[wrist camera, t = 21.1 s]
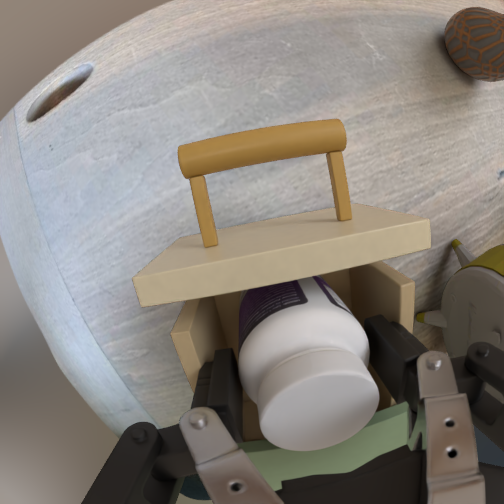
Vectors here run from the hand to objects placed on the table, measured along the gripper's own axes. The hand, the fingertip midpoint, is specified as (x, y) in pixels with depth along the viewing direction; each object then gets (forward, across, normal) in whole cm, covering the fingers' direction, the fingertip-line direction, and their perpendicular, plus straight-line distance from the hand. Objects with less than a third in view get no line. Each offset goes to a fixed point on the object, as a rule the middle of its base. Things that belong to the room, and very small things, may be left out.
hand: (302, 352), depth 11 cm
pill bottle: (+6, 0, 0) cm, 6 cm away
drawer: (+7, 0, -1) cm, 7 cm away
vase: (+8, -21, -18) cm, 28 cm away
